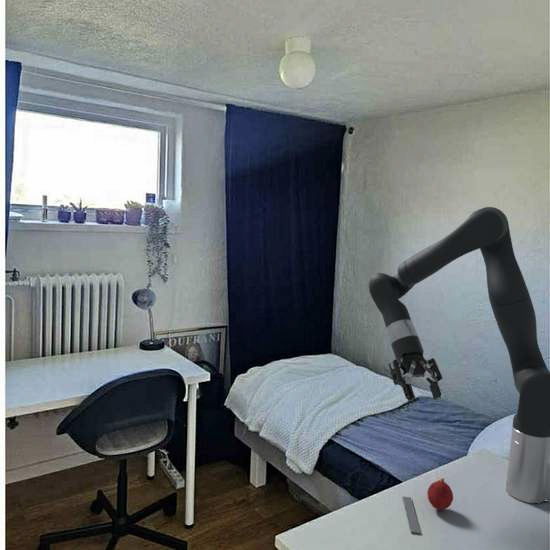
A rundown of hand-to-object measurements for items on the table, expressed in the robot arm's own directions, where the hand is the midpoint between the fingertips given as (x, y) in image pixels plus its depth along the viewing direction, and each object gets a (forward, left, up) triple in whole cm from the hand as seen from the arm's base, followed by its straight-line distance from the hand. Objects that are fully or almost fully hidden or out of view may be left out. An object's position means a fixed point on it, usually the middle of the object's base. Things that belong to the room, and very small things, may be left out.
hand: (425, 399), depth 123 cm
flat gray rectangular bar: (+3, +12, -24) cm, 27 cm away
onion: (-4, +9, -24) cm, 26 cm away
